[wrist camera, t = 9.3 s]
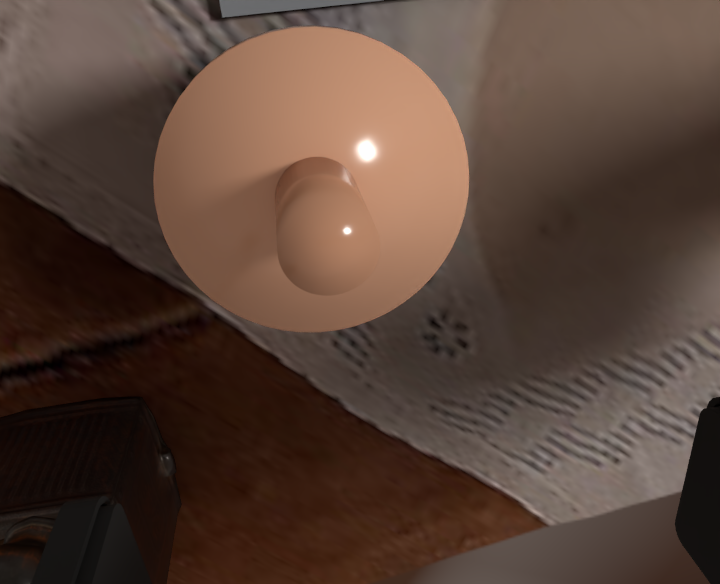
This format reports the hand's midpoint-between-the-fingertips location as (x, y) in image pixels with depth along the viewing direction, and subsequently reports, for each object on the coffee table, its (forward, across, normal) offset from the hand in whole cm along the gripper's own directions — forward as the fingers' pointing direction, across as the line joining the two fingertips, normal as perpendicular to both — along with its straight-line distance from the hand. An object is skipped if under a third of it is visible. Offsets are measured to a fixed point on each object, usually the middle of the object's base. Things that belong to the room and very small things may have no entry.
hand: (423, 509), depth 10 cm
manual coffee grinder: (+26, +18, +18) cm, 37 cm away
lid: (+16, +1, 0) cm, 16 cm away
